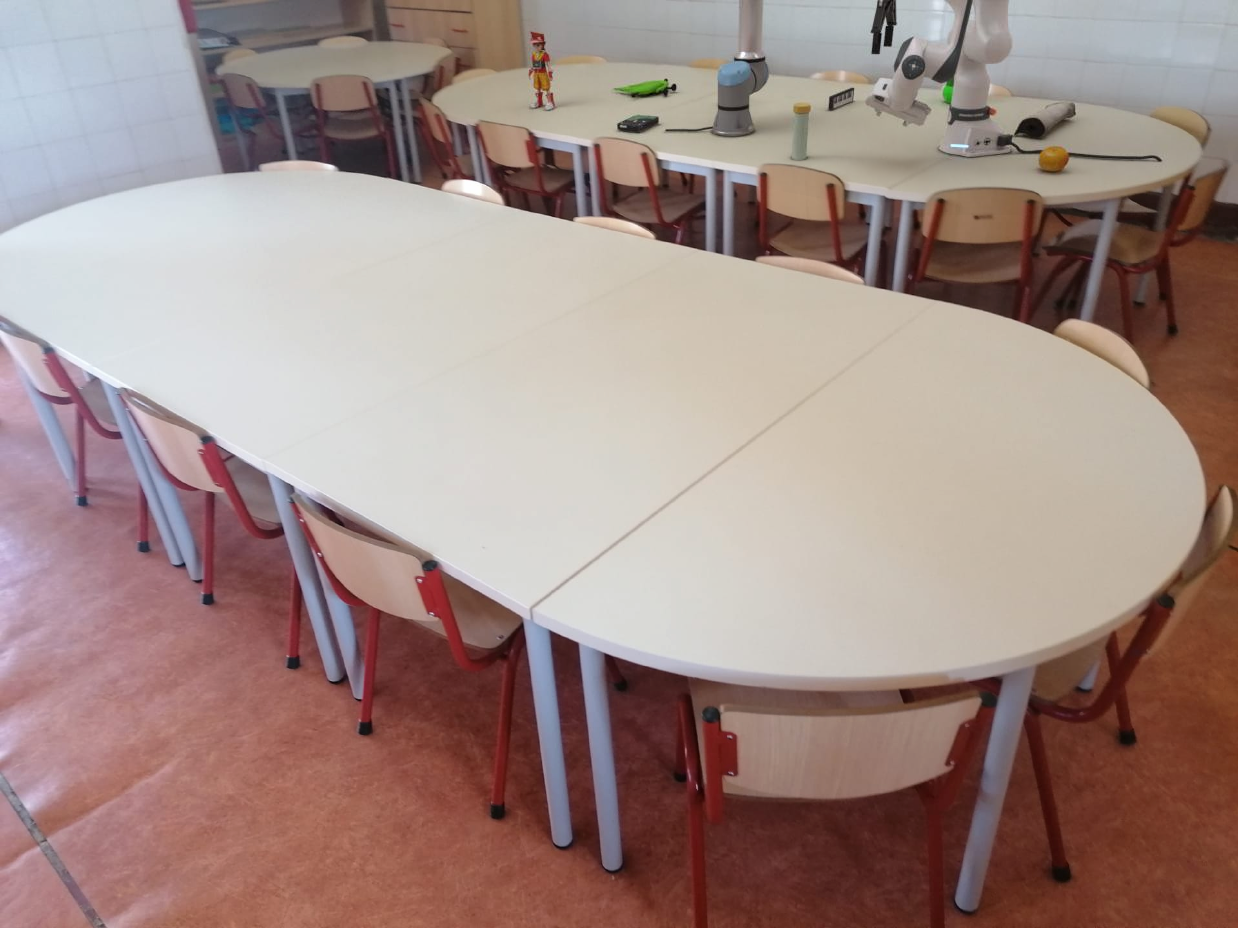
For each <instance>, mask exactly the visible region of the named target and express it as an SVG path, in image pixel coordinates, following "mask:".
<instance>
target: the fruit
mask: <svg viewBox="0 0 1238 928" xmlns="http://www.w3.org/2000/svg"><path fill="white" fill-rule="evenodd" d="M1042 150H1043V151H1042V152H1041V153H1039V156H1038V158H1037V159H1038V162H1037V163H1038V166H1039V167H1040V169H1042V170H1044V171H1046V172H1059V171H1062V170H1063V169H1064V168H1065V167H1066V166H1067V165H1068V163H1069V160H1070V155H1069V154H1068V152H1069V151H1068V150H1067V149H1066V148H1064V147H1062V146H1060V145H1059V146H1058V145H1052V146H1049V147H1045V148H1043V149H1042Z"/></svg>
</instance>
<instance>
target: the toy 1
mask: <svg viewBox="0 0 1238 928" xmlns="http://www.w3.org/2000/svg"><path fill="white" fill-rule="evenodd" d="M529 33H530V35H531V36H528V37H527V38H528V39H529V40H528V41H527V43H529V44H530V43H531V44H532V48H533V50H534V51H533V52H532V55H531V58H530V59H531V63H530V66H528V74H527V75H528V76H527V77H528V79H529V80H531V75H532V74H533V84H532V85H533V86H532V87H533V88H534V89H535V90H536V92H534V95H535V97H536V100H535V101H533V102H531V105H530V108H531V109H535V108H538V107H542V106H544V101H543V100H544V99H543V95H544V92H546V94H545V97H546V99H547V103H546V104H545V106H544V110H546V111H549V110H553V109H554V107H555V106H556V105H555V99H554V92H551V91H550V90H551V86H552V84H551V82H552V81H553V80H554V77H553V73H554V71H555V70H554V69H552V68H551V63H550V61H551V59H550V58H551V57H550V54H549V53H548V52H547V50H546V48H545V46H546V44H547V41H545V35H544V33H543V32H542V33H539V32H535V31H529Z"/></svg>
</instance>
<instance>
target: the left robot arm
mask: <svg viewBox="0 0 1238 928" xmlns="http://www.w3.org/2000/svg"><path fill="white" fill-rule="evenodd" d="M738 5H739V7H738V47H737V48H738V49H737V51H736V52H735V54H734V55H733V61H730V62H726V63H723V64H721V65H720V67H719V68H718V70H717V111H716V114H715V118H714V120H713V124H712V126H706V127H702V128H666V129H664V130H665V132H701V131H706V130H711V129H712V133H713V134H715V135H717V136H721V137H741V136H746V135H750V134H752V133H754V127H755V126H754V122H753V118H752V115H751V111H750V96H751V95H753V94H755V93H757V92H759V91H761V90H762V89H763V88H764V87H765V86H766V84H767V83H768V81H769V77H770V68H769V65H768V63H767V62H766V53H765V52H764V50H762V48H763V23H764V20H763V19H764V0H739V4H738ZM873 17H874V18H873V23H872V26H871V30H870V34H872V43H871V53H870V54H871V55H880V54H881V46H882V36H883V32H882V30H883V27H884V23H885V22H886V25H885V28H884V37H883V47H885V48H886V47H888V48H891V47H892V46H893V39H894V28H895V26H898V22H897V0H877V2H876V9H875V12H874V16H873Z"/></svg>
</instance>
